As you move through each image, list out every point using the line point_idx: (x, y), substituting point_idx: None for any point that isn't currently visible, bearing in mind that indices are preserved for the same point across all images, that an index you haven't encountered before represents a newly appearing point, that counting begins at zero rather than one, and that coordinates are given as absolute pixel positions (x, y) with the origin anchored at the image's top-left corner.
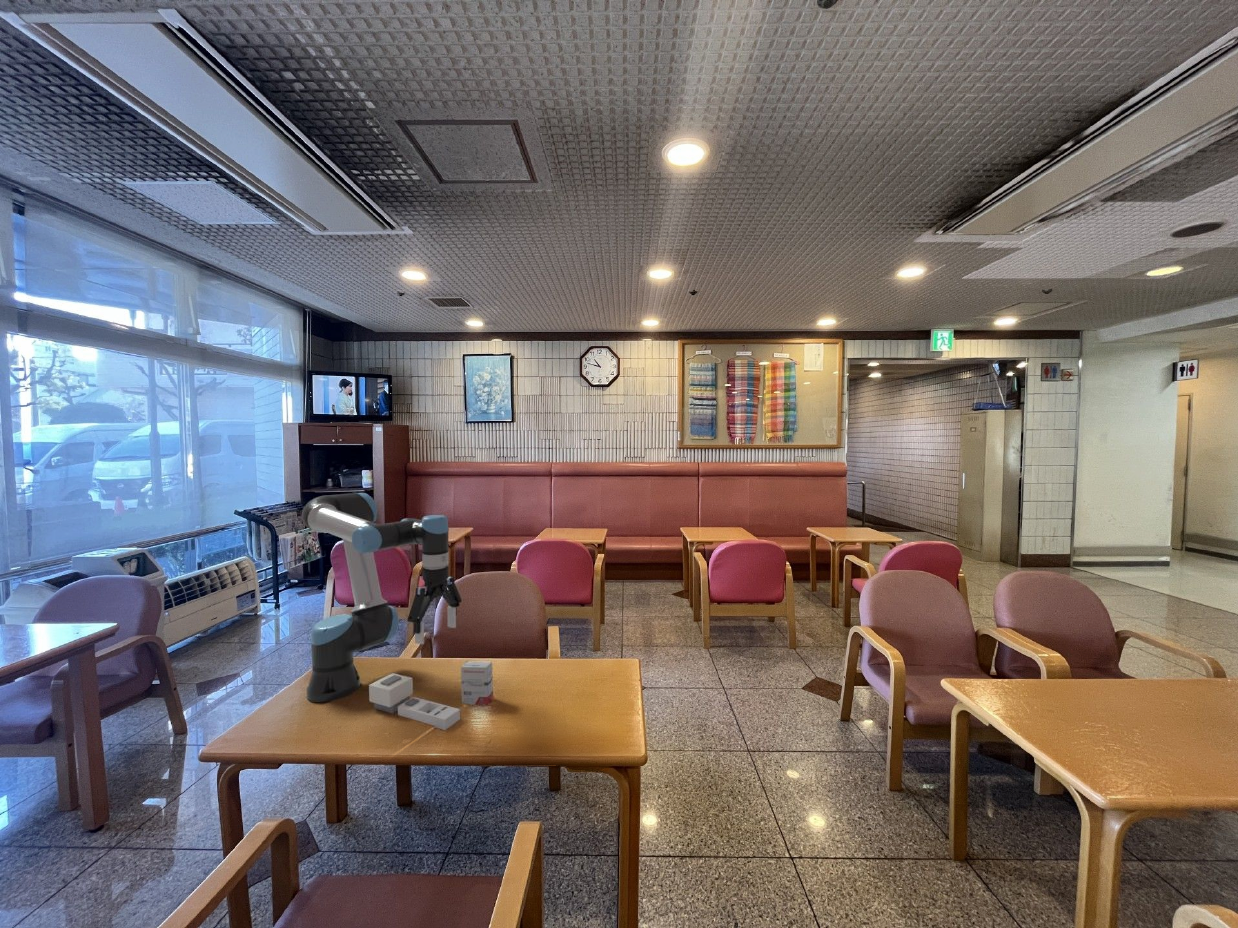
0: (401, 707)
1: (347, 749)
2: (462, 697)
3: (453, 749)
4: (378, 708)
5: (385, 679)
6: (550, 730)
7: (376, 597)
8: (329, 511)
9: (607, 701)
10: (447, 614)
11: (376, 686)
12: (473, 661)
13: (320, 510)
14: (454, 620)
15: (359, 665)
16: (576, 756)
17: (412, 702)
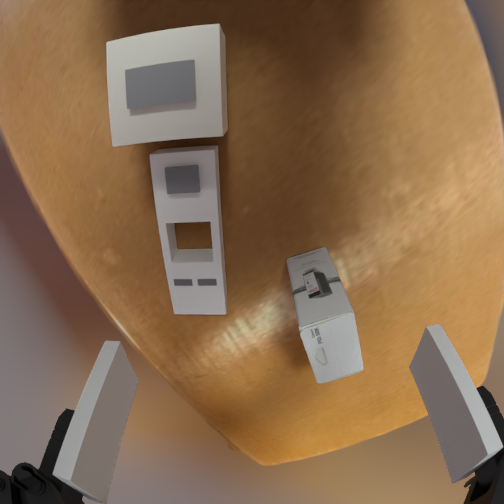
0: (151, 170)
1: (33, 175)
2: (288, 269)
3: (149, 345)
4: None
5: (163, 50)
6: (269, 416)
7: None
8: None
9: (365, 426)
10: (464, 399)
11: (109, 76)
12: (354, 330)
13: None
14: (426, 406)
15: None
16: (233, 444)
17: (177, 187)
